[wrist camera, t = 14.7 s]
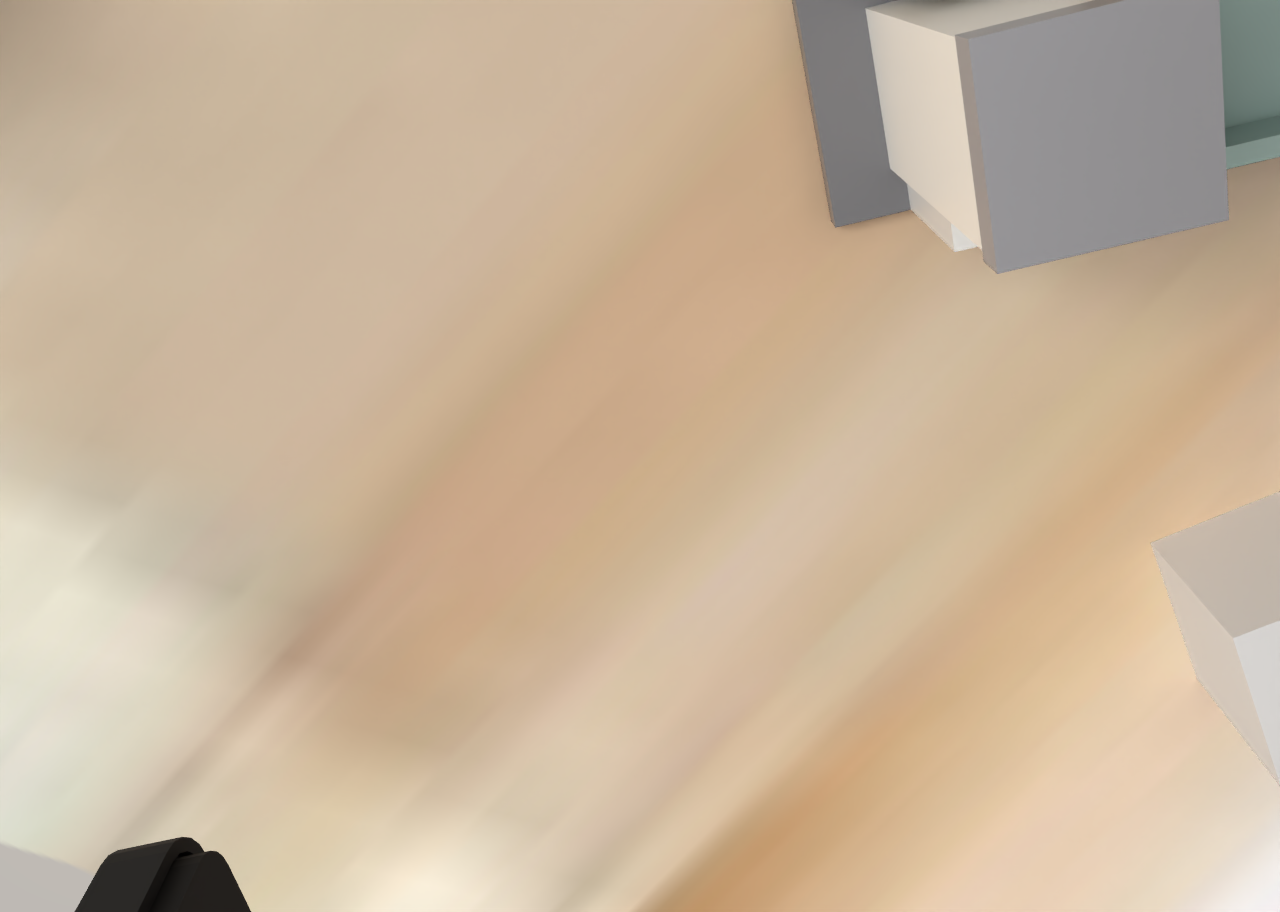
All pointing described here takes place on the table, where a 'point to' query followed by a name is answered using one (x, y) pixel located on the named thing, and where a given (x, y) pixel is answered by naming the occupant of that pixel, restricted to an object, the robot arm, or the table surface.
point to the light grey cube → (1232, 615)
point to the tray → (1251, 79)
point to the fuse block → (1020, 119)
